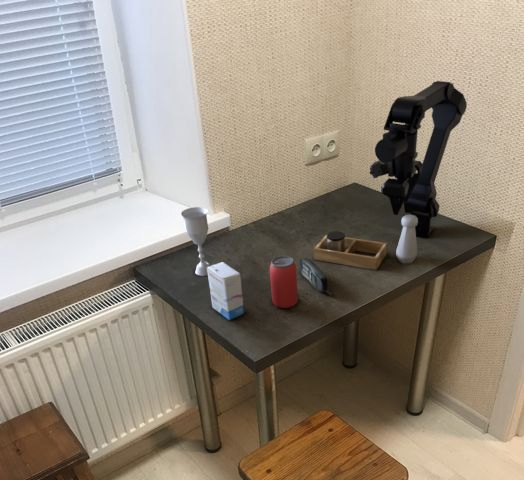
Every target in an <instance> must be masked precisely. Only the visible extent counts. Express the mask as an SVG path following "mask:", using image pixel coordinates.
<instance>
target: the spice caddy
mask: <svg viewBox="0 0 524 480" xmlns="http://www.w3.org/2000/svg"><path fill="white" fill-rule="evenodd" d="M327 234H328V233H327ZM327 234H325V235H324V236H323V238H322V239H321V240H320V241H319V243H318V244H317V245H316V246H315V247H314V248H313V260H315V261H320V262H326V263H332V264H338V265H344V266H350V267H355V268H363V269H368V270H375V271H376V270H378V268H379V266H380V265H381V264H382V262H383V261H384V259H385V258H386V256H387V253H388V243H387V242H384V241H383V242H382V241H375V240H368V239H361V238H354V237H347V236H345V252H339V251H333V250H327ZM357 252H361V253H368V254H375V256H370V255H364V254H358V253H357Z"/></svg>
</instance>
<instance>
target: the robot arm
mask: <svg viewBox="0 0 524 480" xmlns="http://www.w3.org/2000/svg"><path fill="white" fill-rule="evenodd" d="M467 107H468V103H467V100H466V98H465V95H464V93H462V92H461V91H459V89H457V88H456V87H455V85H454V84H453V83H452V82H450V81H443V80H436V81H433V82H432V83H431V85H428V86H427V87H426V88H424V89H423V90H421V91H419V92H417V93H416V94H413V95H404V96H399V97H396V99H395V100H394V101H393V103H392V104H391V105H390V109H389V112H388V115H387V117H386V119H385V124H384V126H383V130H384V131H387V132H384V133H383V134H382V139H380V140H378V141H377V143H376V145H375V147H374V154H375V157H376V158H377V159H378V160H377V161H374V162H373V163H372V164H371V165H370V166H369V174H370V175H371V176H372V178H373V179H377V178H379V177H382V176H386V175H387V177H389V178H388V179H386V180H385V181H384V182H383V183H382V185H381V186H380V193H381V194H382V195H383V196H386V197H387V198H389V201H390V202H389V203H390V206H391V209H392V214H393V215H394V216H398V215H399V213H400V211H401V209H402V207H403V210H404V213H405V214H409V215H415V216H416V217H417V218H418V224H417V226H415V231H416V237H420V238H425V239H427V238H429V237H430V235H431V233H432V231H433V229H434V228H433V226H431V220H432V218H437V217H438V214H439V211H440V207H441V206H440V204H439V202H438V201H437V199H436V198H437V195H438V193H437V189H436V185H435V181H436V179H437V176H438V172H439V169H440V166H441V163H442V161H443V158H444V157H443V156H444V153H445V151H446V147H447V144H448V141H449V138H450V136H451V132H452V131H453V130H454V129H456V127H457V126H458V125H459V124H460V123H461V120H462V118H463V116H464V114H465V112H466V111H467ZM430 109H431V110H432V112H431V118H432V123H433V128H432V132H431V135H430V138H429V141H428V145H427V147H426V151H425V154H424V157H423V160H422V161H421V160H416V159H417V157H418V154H419V152H418V151H417V144H418V131H419V129H421V128H422V125H421V123H422V121H423V119H425V116H426V112H427V111H429V110H430ZM393 177H394V178H393Z"/></svg>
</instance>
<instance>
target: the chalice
mask: <svg viewBox="0 0 524 480" xmlns="http://www.w3.org/2000/svg"><path fill="white" fill-rule="evenodd" d="M208 211H209V210H208V209H207V208H204V207H200V206H195V207H189V208H186V209H183V210H182V211H181V213H180V215H181V216H182V218H183V222H184V227H185V232H186V234H187V235H188V237H189V238H190V241H192V242H193V244H194V245H197V246H198V247H197V252H198V253H199V255H198V258H199V260H200V262H199V263H197V264H196V268H195V274H196V275H197V276H201V277H203V276H208V272H207V268H208V267H209V266H211V265H210V263H208V262H207V261H206V260H205V257H206V255H205V254H204V248H203V247H202V246H203V244H205V242H206V239H207V237H208V232H209V224H208V216H207V215H208Z"/></svg>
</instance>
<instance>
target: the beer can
mask: <svg viewBox="0 0 524 480" xmlns="http://www.w3.org/2000/svg"><path fill="white" fill-rule="evenodd" d="M270 261H271V262H270V266H269V277H270V289H271V290H270V291H271V301H272V304H273V306H275V307H277V308H281V309H288V308H292V307H293V306H295V305H296V304H297V303H298V301H299V300H298V299H299V297H298V296H299V295H298V277H297V276H298V275H297V266H296V265H297V264H296V263H295V260H294V258H293V257H291V256H288V255H279V256H275V257H273V258H272V259H271V260H270Z"/></svg>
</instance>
